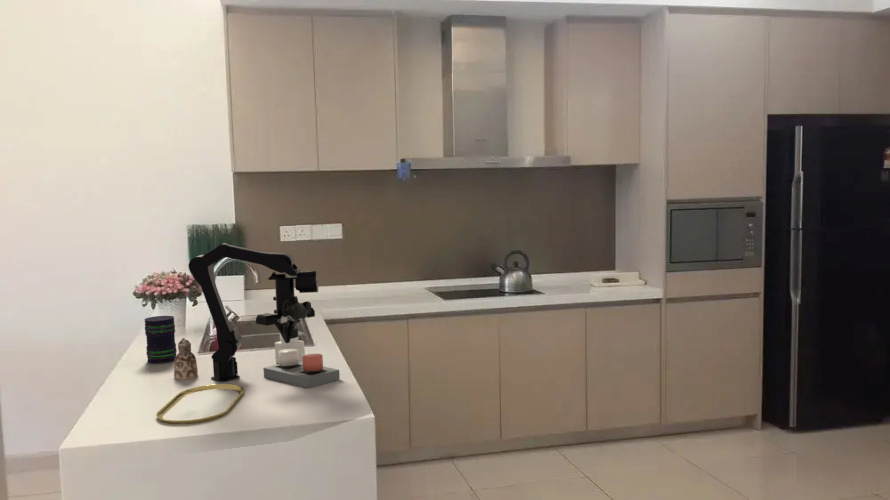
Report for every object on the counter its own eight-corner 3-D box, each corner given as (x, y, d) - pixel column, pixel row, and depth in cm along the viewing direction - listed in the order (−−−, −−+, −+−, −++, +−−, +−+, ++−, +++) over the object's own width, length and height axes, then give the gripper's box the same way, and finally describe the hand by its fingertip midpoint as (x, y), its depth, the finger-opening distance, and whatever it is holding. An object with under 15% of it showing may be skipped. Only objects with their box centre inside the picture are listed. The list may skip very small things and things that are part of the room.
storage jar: (167, 364, 265) (164, 320, 264) (141, 363, 267) (138, 320, 266) (182, 357, 275) (179, 315, 273) (157, 357, 277) (154, 315, 275)
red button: (311, 372, 231) (310, 359, 231) (298, 369, 235) (298, 356, 235) (327, 368, 236) (326, 355, 236) (314, 365, 240) (314, 352, 240)
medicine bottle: (291, 359, 266) (290, 324, 265) (305, 361, 262) (303, 326, 261) (275, 363, 261) (273, 328, 260) (289, 366, 256) (287, 330, 255)
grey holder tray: (308, 388, 228) (307, 378, 228) (264, 377, 243) (263, 367, 243) (339, 379, 237) (339, 369, 237) (295, 369, 252) (294, 360, 252)
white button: (286, 366, 239) (286, 354, 239) (275, 364, 243) (274, 351, 243) (302, 363, 244) (301, 350, 244) (290, 360, 248) (290, 348, 248)
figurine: (173, 380, 243) (171, 342, 242) (175, 375, 250) (172, 338, 248) (197, 378, 245) (195, 340, 244) (198, 372, 252) (196, 336, 250)
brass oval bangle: (146, 428, 197) (145, 422, 197) (187, 390, 232) (187, 385, 232) (220, 425, 198) (220, 418, 198) (250, 387, 233) (250, 382, 232)
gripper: (275, 299, 229) (278, 351, 231) (325, 291, 243) (327, 340, 245) (253, 296, 237) (256, 347, 238) (302, 289, 251) (305, 336, 252)
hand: (287, 343), depth 243 cm, fingers closed
